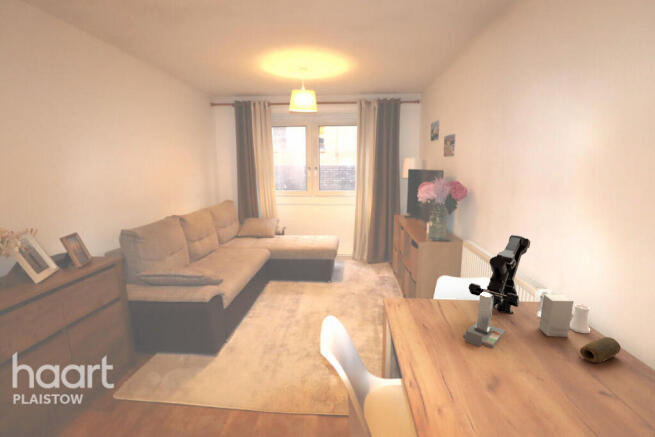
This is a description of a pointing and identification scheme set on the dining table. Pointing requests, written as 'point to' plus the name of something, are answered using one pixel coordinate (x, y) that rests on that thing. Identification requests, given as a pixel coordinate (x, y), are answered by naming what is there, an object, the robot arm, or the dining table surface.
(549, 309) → the skincare box
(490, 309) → the bar
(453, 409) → the dining table surface
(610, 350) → the brown hollow cylinder
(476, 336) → the gauge board
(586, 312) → the vase
